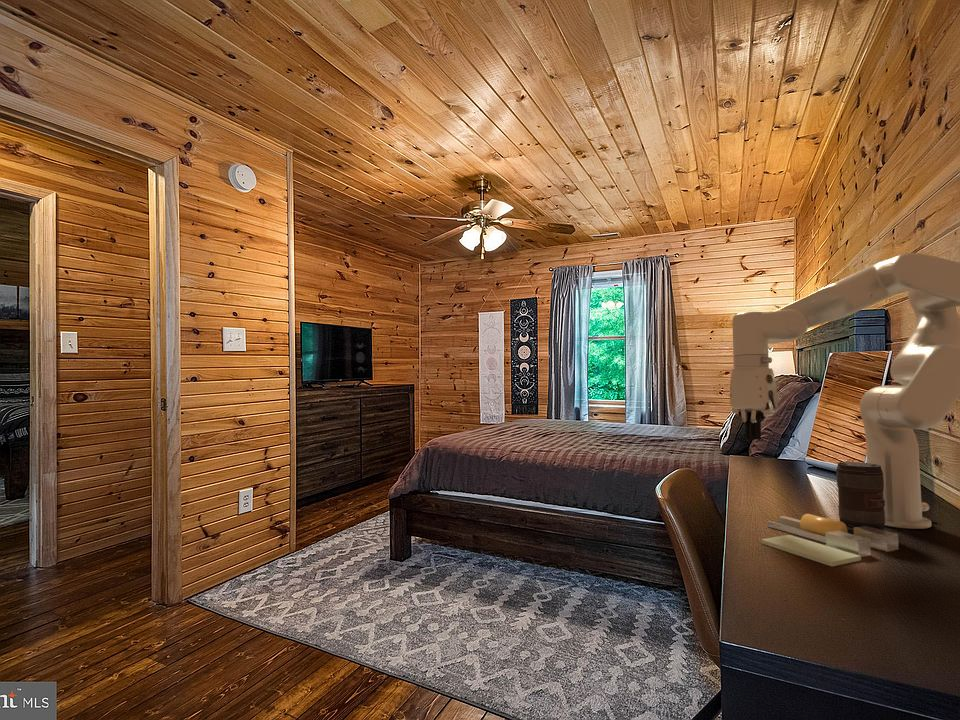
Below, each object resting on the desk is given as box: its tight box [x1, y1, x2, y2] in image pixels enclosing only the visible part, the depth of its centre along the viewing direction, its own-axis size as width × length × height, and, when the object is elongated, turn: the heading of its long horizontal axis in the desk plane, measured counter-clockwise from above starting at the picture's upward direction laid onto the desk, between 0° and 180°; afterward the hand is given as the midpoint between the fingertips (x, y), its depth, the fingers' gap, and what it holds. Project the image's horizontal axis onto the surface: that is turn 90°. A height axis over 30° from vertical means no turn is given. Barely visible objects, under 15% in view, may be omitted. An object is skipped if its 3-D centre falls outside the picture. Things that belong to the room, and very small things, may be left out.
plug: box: [777, 513, 847, 536], centre depth 108 cm, size 4×13×4 cm, turn 22°
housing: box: [767, 520, 900, 558], centre depth 105 cm, size 12×21×3 cm, turn 22°
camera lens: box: [835, 461, 885, 535], centre depth 108 cm, size 8×8×15 cm
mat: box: [761, 534, 862, 567], centre depth 97 cm, size 8×14×1 cm, turn 22°
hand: (753, 438), depth 121 cm, fingers closed
